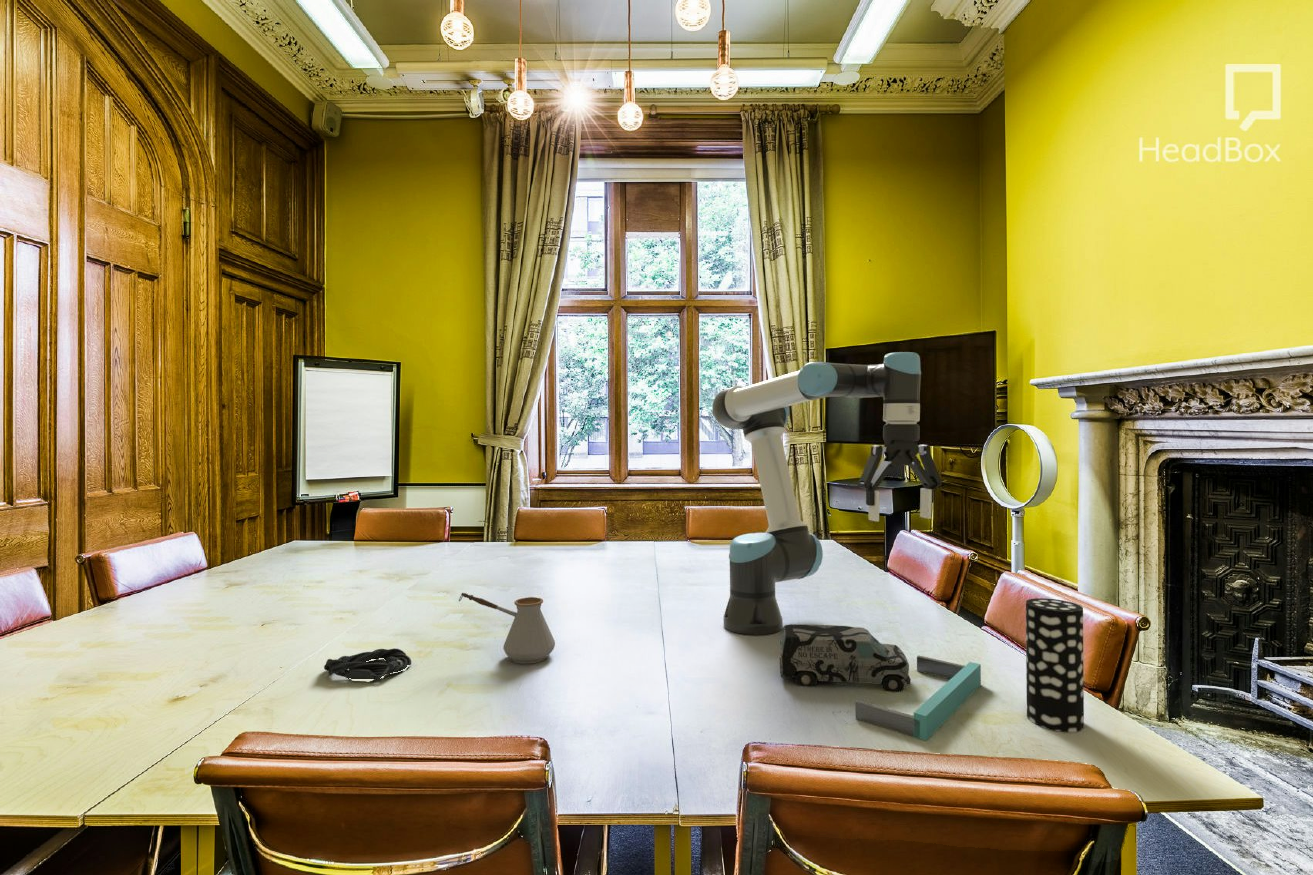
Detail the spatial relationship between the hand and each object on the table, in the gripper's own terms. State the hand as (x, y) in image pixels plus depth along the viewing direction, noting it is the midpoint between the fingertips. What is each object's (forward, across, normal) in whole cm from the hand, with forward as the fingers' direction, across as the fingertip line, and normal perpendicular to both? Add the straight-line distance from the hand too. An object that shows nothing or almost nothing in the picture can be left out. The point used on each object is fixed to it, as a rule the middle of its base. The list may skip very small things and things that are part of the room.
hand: (900, 519), depth 139 cm
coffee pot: (+32, -83, +27) cm, 93 cm away
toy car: (+31, -19, -7) cm, 37 cm away
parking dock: (+30, -11, -22) cm, 39 cm away
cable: (+33, -112, +29) cm, 121 cm away
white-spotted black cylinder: (+30, +5, -35) cm, 46 cm away
